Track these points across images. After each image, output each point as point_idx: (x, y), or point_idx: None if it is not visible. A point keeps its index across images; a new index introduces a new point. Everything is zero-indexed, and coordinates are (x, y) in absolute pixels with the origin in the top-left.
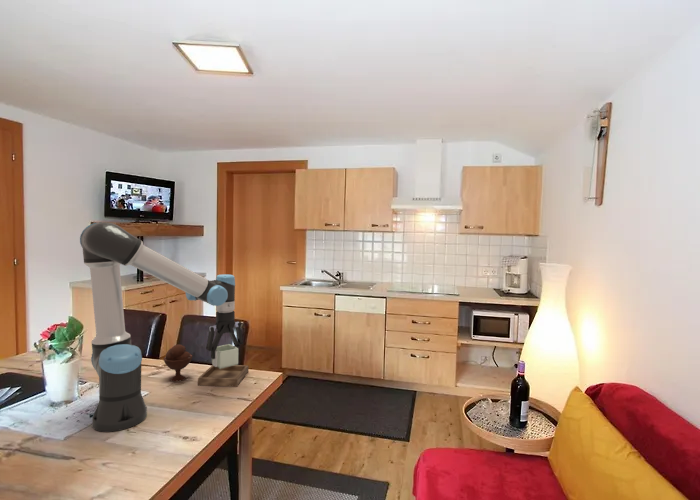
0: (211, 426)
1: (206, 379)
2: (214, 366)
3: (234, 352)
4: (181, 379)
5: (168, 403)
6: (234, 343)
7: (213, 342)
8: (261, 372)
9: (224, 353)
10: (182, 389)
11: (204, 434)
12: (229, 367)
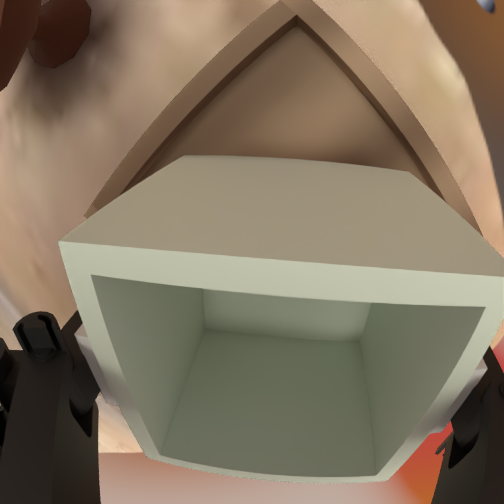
0: (116, 438)
1: None
2: (297, 17)
3: (335, 447)
4: (60, 61)
5: (14, 286)
6: (488, 422)
7: (12, 460)
8: None
9: (204, 447)
10: (45, 197)
11: (103, 441)
12: (395, 128)
